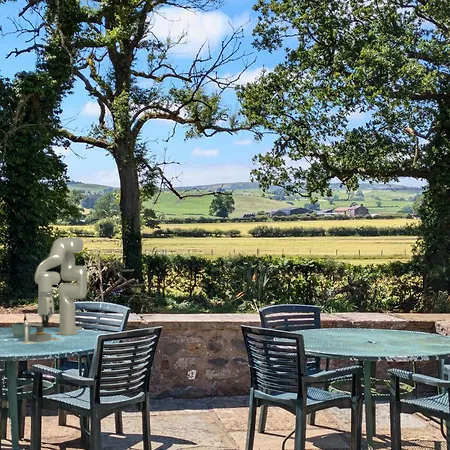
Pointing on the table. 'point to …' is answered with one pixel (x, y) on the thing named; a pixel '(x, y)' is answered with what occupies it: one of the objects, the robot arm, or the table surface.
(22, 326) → the flower pot
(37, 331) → the plug
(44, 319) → the robot arm
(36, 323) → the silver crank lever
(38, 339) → the socket plate
